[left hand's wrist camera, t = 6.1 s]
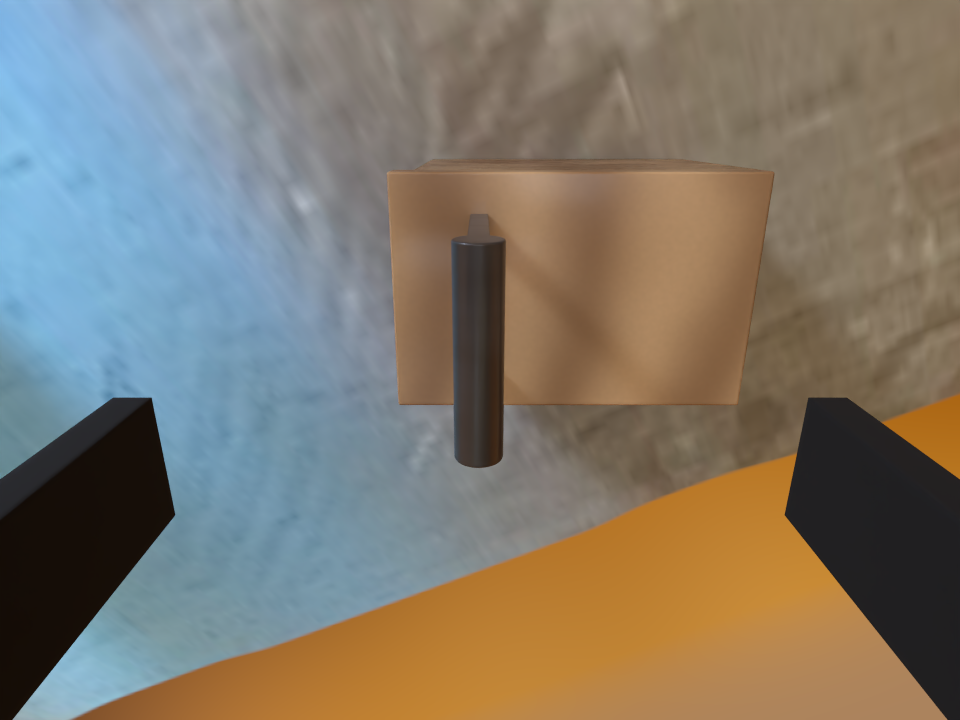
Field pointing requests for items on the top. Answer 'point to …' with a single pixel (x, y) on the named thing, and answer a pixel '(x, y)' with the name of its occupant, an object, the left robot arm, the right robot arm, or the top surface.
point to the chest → (572, 164)
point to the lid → (571, 289)
